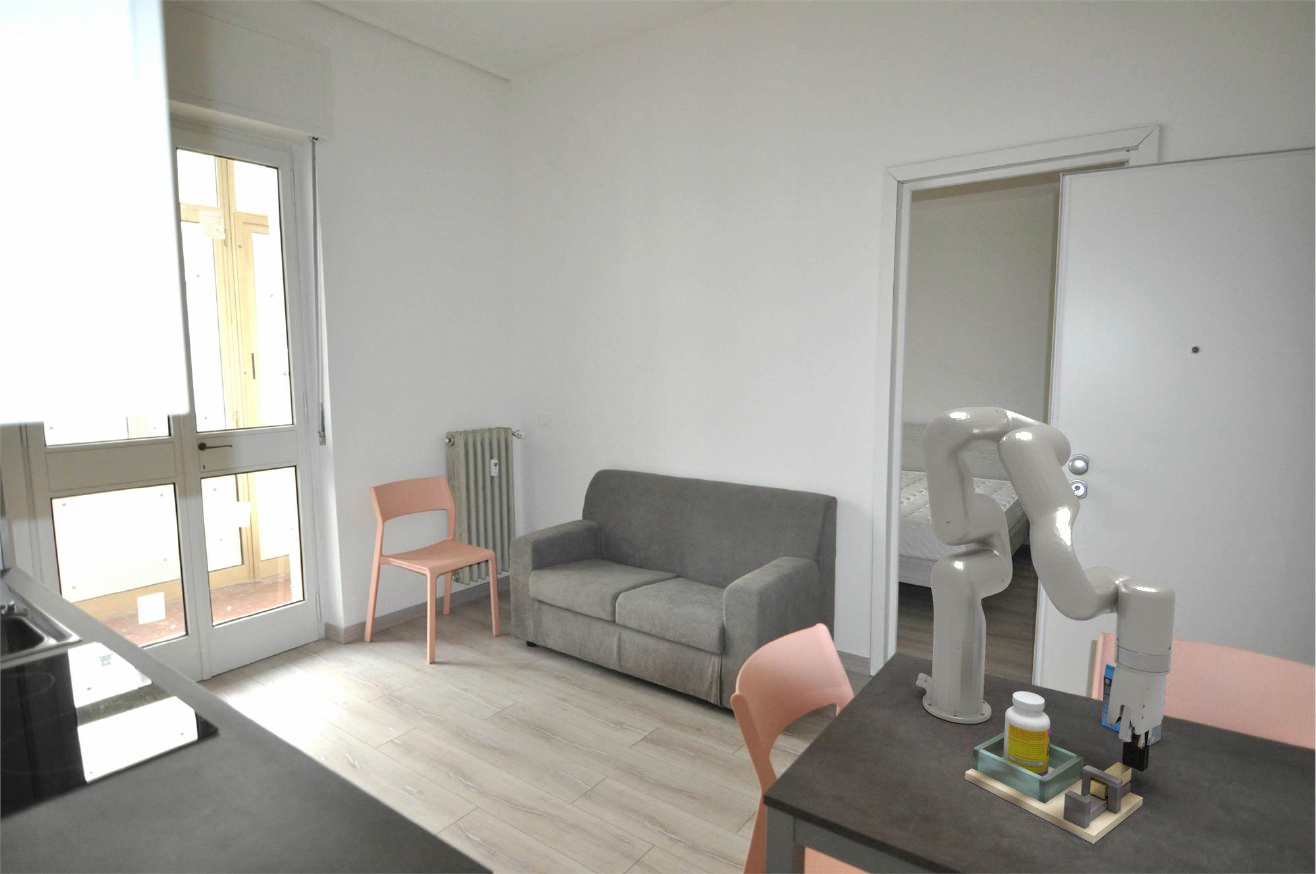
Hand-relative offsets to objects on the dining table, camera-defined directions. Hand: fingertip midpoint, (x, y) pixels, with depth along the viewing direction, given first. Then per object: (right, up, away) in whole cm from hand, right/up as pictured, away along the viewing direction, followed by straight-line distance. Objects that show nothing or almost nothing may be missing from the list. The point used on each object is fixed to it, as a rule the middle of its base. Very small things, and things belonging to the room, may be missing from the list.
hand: (1134, 766), depth 117 cm
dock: (-14, -4, -1) cm, 15 cm away
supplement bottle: (-17, -2, +2) cm, 17 cm away
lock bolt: (-7, -1, -5) cm, 8 cm away
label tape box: (+11, -2, +18) cm, 21 cm away
